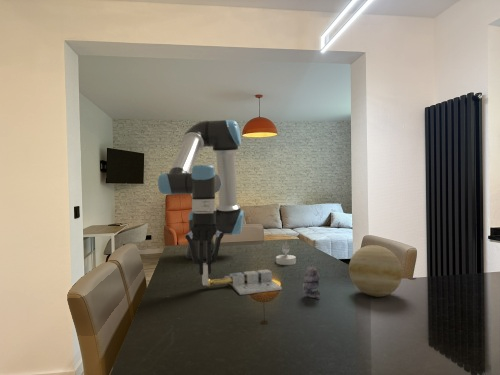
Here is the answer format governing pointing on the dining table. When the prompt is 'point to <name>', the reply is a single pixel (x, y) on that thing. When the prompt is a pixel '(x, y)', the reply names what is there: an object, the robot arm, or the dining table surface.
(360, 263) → the decorative ball
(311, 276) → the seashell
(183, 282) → the dining table surface
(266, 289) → the hinge leaves
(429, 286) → the dining table surface
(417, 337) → the dining table surface
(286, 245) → the wall hook
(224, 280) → the pin
